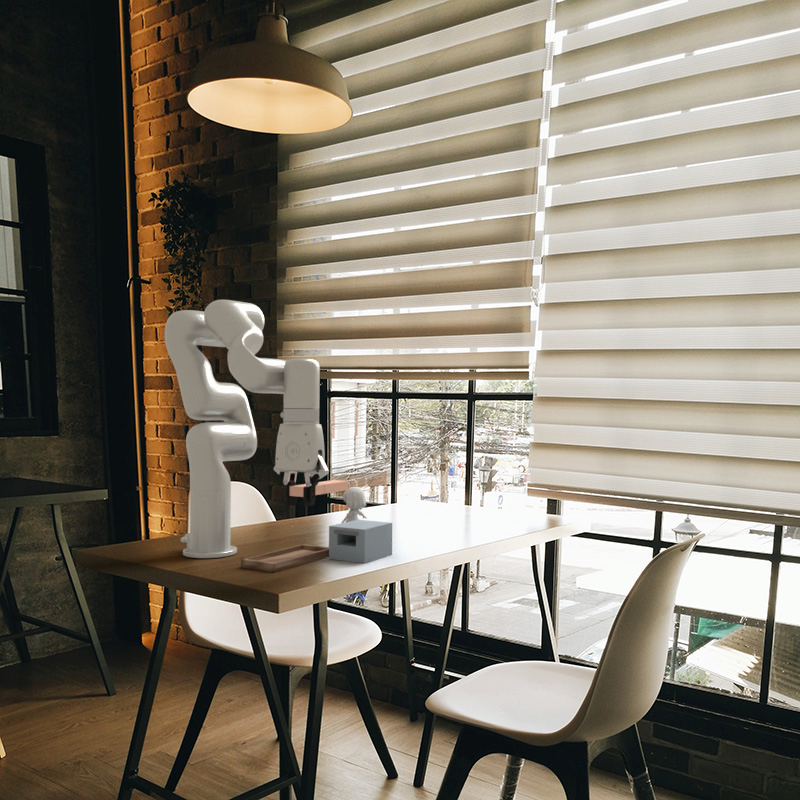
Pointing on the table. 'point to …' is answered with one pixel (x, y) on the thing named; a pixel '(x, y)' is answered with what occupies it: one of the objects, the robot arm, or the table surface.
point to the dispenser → (360, 541)
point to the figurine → (354, 503)
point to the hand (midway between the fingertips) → (300, 503)
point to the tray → (285, 558)
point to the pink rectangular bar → (321, 487)
